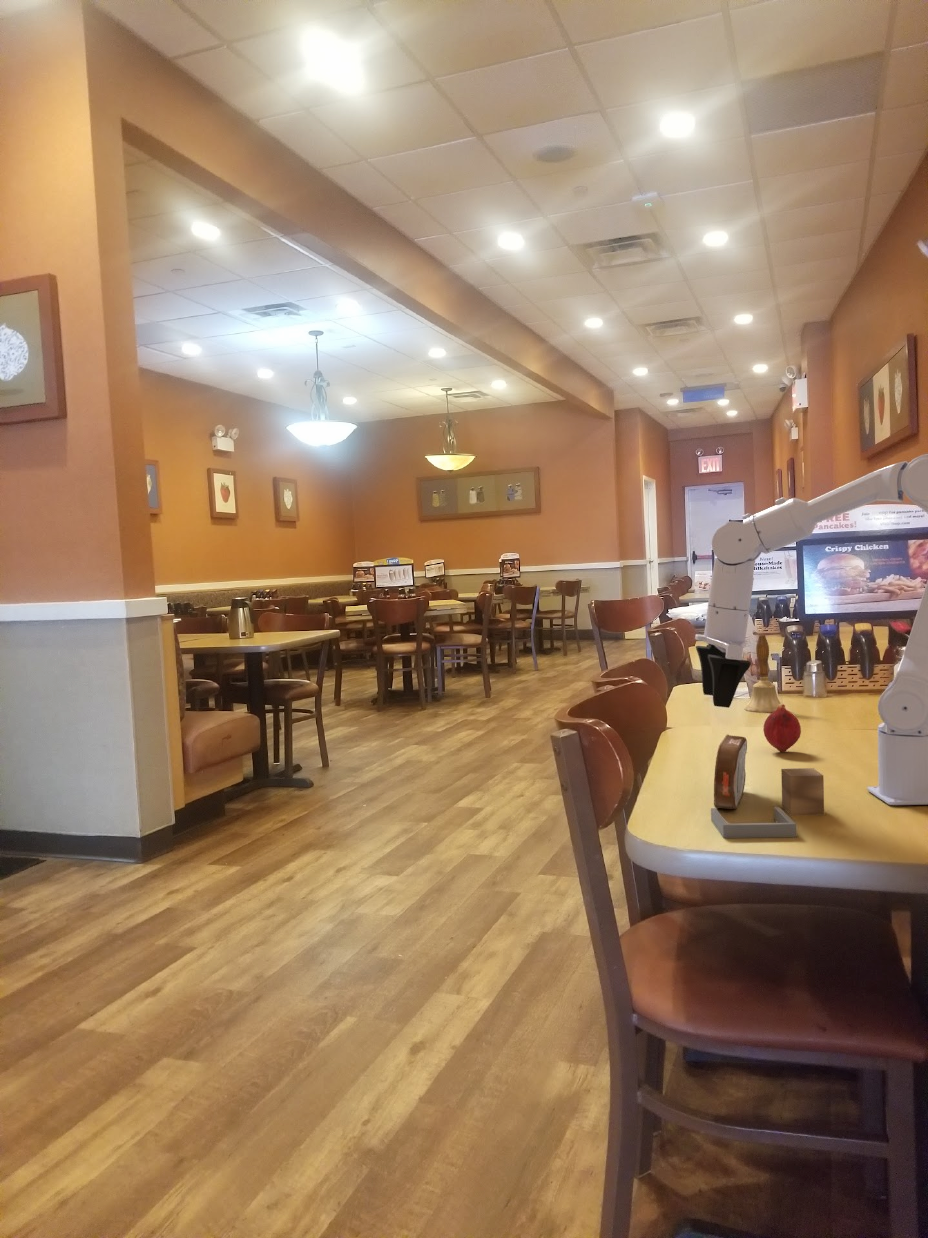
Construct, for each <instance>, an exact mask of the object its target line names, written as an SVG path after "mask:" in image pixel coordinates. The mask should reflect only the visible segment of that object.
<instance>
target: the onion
mask: <svg viewBox="0 0 928 1238" xmlns="http://www.w3.org/2000/svg"><path fill="white" fill-rule="evenodd" d="M801 727H802V726H801V723H800V721H799V719H798V718H797V717H796V715H794V714H793V713H792V712H791V711H789V710H788V709H786V705H785V704H784V703H781V704H779V705H778V708H777V710H776V711H774V712H772V713H769V715H768V716H767V718H766V719H765V721H764V724H763V734H764V737H765V739H766V741H767V742H768V743H769V744H770V746H772V747H773V748H775V749H776V750H777V751H779V752H781V753H785V752H787V751H788V750H789V749H790V748H791V747H793V746H794V745H795V744H796V743H797V742H798V741H799V739H800V738H801V733H802V728H801Z"/></svg>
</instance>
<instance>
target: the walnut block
mask: <svg viewBox="0 0 928 1238" xmlns="http://www.w3.org/2000/svg"><path fill="white" fill-rule="evenodd" d="M780 771H781V807H782V808H783V809H784V810H785V811H786V812H787V813H788V814H789V815H790V816H825V793H824V791H825V788H824V786H825V785H824V782H825V781H824V775H823V774H822V772H819V771H818V770H817V769H815V768H814V767H812V768H811V767H810V768H809V767H808V768H781V770H780Z"/></svg>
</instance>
